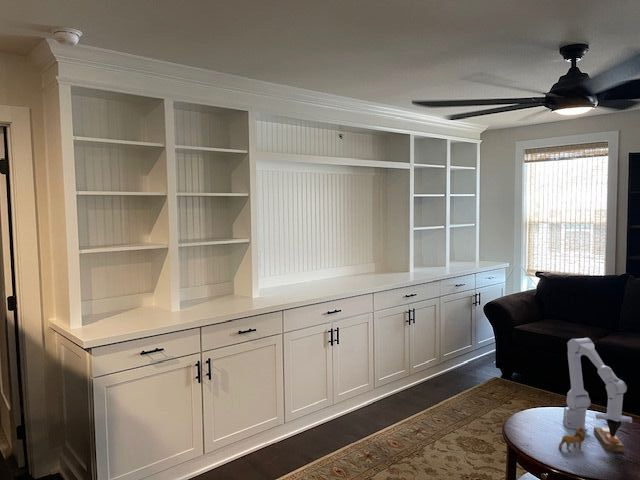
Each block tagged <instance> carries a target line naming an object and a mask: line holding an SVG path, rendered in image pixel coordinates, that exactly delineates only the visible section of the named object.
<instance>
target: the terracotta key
mask: <svg viewBox="0 0 640 480" xmlns="http://www.w3.org/2000/svg"><path fill="white" fill-rule="evenodd" d="M616 436H617V435H616V434H615V437H614V436H611V435H610V434H606V437H605V438H606V440H607V441H608V442H616V443H618V438H619V437H618V436H617V437H618V438H617V437H616Z"/></svg>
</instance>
